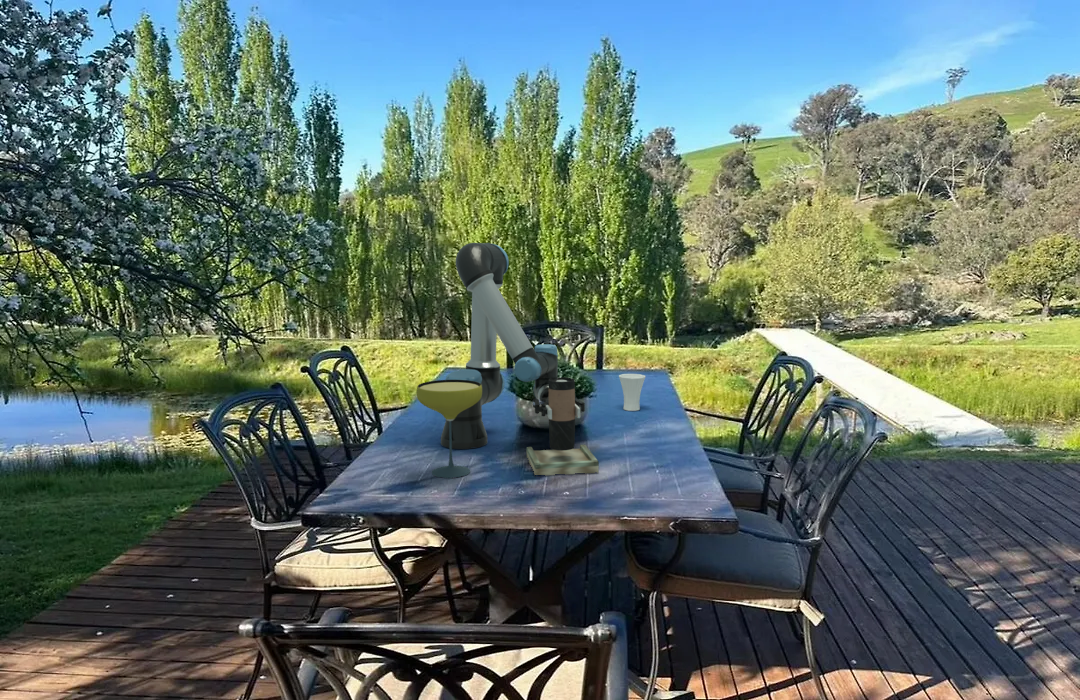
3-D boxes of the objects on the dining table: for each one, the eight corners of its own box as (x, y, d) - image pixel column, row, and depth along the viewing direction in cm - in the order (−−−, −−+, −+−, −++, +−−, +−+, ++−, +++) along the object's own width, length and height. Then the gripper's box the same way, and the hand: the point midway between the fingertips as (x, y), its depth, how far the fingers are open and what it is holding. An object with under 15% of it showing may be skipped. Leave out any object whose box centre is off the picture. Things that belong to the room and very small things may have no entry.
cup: (617, 411, 269) (618, 377, 268) (619, 406, 280) (619, 373, 278) (644, 412, 268) (645, 378, 266) (645, 407, 278) (645, 374, 276)
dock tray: (535, 475, 191) (535, 464, 190) (526, 457, 208) (526, 447, 208) (598, 472, 194) (598, 461, 193) (584, 454, 211) (584, 444, 211)
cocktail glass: (487, 480, 187) (485, 389, 184) (419, 484, 184) (417, 392, 180) (479, 461, 205) (478, 378, 201) (417, 464, 201) (415, 380, 198)
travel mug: (573, 451, 196) (572, 382, 193) (546, 450, 197) (546, 381, 195) (577, 444, 203) (576, 377, 200) (551, 443, 205) (550, 376, 202)
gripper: (583, 408, 218) (600, 425, 196) (519, 411, 215) (529, 428, 193) (582, 385, 217) (600, 399, 195) (519, 387, 214) (529, 402, 192)
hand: (564, 413), depth 194 cm, fingers closed on travel mug, 7 cm apart
